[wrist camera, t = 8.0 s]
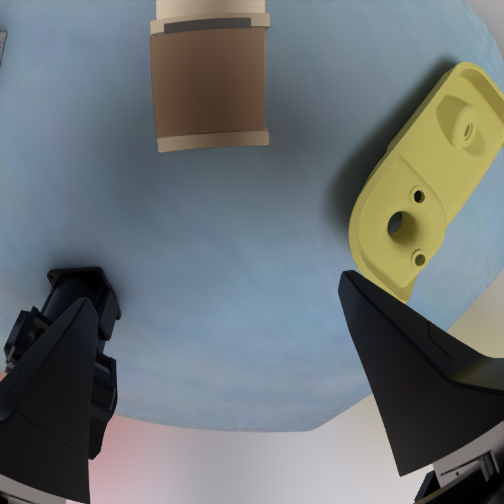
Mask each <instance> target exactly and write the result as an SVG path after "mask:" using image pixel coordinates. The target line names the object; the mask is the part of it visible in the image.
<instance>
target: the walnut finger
mask: <svg viewBox="0 0 504 504" xmlns="http://www.w3.org/2000/svg"><path fill="white" fill-rule="evenodd" d="M150 55H151V76H152V92H153V104H154V116H155V126H156V135H157V138H159V137H167V136H175V135H184V134H194V133H206V132H220V131H239V130H265V29H256V28H251V18H213V19H199V20H189V21H180V22H173V23H166V24H164V35H159V36H153V37H150Z"/></svg>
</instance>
